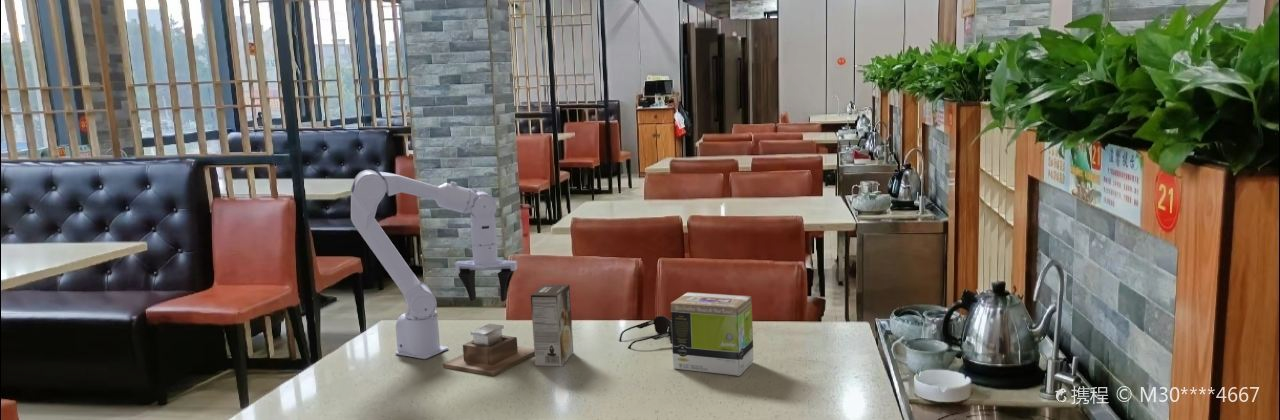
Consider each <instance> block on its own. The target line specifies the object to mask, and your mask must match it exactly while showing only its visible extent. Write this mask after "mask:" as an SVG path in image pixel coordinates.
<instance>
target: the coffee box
mask: <svg viewBox="0 0 1280 420" xmlns="http://www.w3.org/2000/svg"><path fill="white" fill-rule="evenodd" d="M530 304H531V305H530V306H531V308H530V309H531V320H532V333H533V335H532V336H533V349H534V353H535V355H534V365H535V366H539V367H541V366H542V367H544V366H545V367H549V366H550V367H562V366H564V364H565V363H566V362H567V361H568V360H569V358H570V357H571V356H572V355H573V354H574V340H573V339H574V336H573V322H572V321H573V320H572V306H571V305H572V303H571V290H570V284H542V285H541V286H540V287H539V288H537V290H535V291H534V292H533V293H531V294H530Z"/></svg>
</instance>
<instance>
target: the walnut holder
mask: <svg viewBox="0 0 1280 420" xmlns="http://www.w3.org/2000/svg"><path fill="white" fill-rule="evenodd" d="M533 356H535V353H534V348H529V347H523V346H518V338H517V337H516V336H510V335H503V334H502V342H500V343H498V344H496V345H494V346H492V347H487V346H481V345H474V339H472V340H470V341H468V342H466V343H464V344H462V354H461V355H459V356H457V357H454V358H452V359H450V360H448V361H445V362H444V363H442V367H443V368H444V369H452V370H456V371H457V370H458V371H461V372H468V373H474V374H479V375H485V376H490V377H494V376H497V375H498V374H500V373H502V372H504V371H506V370H508V369H510V368H512V367H514V366H515V365H518V364H520V363H522V362H523V361H526V360H528V358H531V357H533Z"/></svg>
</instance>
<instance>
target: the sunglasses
mask: <svg viewBox="0 0 1280 420" xmlns="http://www.w3.org/2000/svg"><path fill="white" fill-rule="evenodd" d="M652 325H653V326H654V330H655V333H657V334H655V335H652V336H649V337H644V338H642V339H637V340H633V341H632V342H631V343H630V344H628V347H627V349H631V348H632V346H633V344H635V343H637V342H642V341H647V340H650V339H651V340H655V341H656V340H661V339H664V338H667V337H668V340H669V341H670V343H671V344H672V327H671V318H669V317H667V316H665V315H657V316H655V318H654V319H653V318H652V319H651V320H650V319H649V320H648V321H644V322H643V323H639V324H636V325H633V326H630V327H628V328H625V329H624V330H622V332H621V333H620V336H619V339H618V341H619V342H622V338H623V334H624V333H626V332H627V331H630V330H632V329H634V328H638V329H640V330H641V329H644V328H646V327H649V326H652Z"/></svg>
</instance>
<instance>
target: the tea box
mask: <svg viewBox="0 0 1280 420" xmlns="http://www.w3.org/2000/svg"><path fill="white" fill-rule="evenodd" d="M670 320H671V327H672V343H671V348H672V349H671V350H672V351H671V352H672V364H673V369H676V370H684V371H694V372H702V373H710V374H720V375H728V376H729V375H730V376H738V377H739V376H741V375H742V374H743V373H744V372H745V371H747V369H748V368H749V367H750V366H751V365H752V363H754V334H753V333H754V330H753V301H752V296H751V295H736V294H721V293H705V292H704V293H703V292H691V291H688V292H686V293H684V294H683V295H681V296H680V297H678V298H677V299H675V300H673V301H671V302H670Z"/></svg>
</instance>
